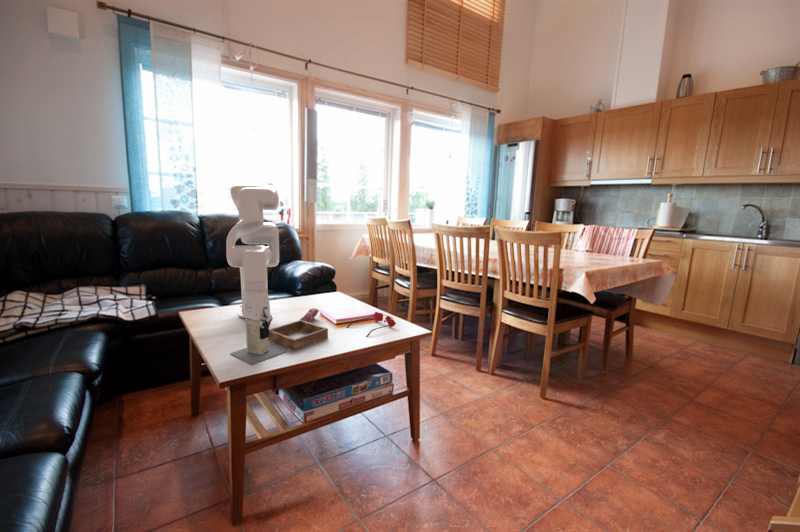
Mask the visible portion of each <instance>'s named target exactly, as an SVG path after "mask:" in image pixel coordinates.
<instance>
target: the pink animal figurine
mask: <svg viewBox="0 0 800 532" xmlns="http://www.w3.org/2000/svg"><path fill="white" fill-rule="evenodd" d="M318 313H319V309H318V308H315V307H313V308H310V309H309V310H308V311H307V312H306V313H305V314H304V316H302V317H300V318H299V320H303V321H306V322H309V323H311V321H313V320H315V318H316V316H317V315H318Z"/></svg>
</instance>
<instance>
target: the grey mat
mask: <svg viewBox="0 0 800 532" xmlns="http://www.w3.org/2000/svg"><path fill="white" fill-rule="evenodd" d="M285 353H286V350H284V349H281V348H279V347H276V346H274V345H271V344H270V343H269V351H267V352H265V353H264V354H262V355H259V354H255V353H250V352H247V347H245V348H242V349H238V350H237V351H233V352H230V355H231V356H233V357H235V358H237V359H238V360H239V359H240V360H241V361H244V362H245V363H247V362H248V364H249V363H250V364H249V365H251V364H252V365H251V366H254V365H255V363H256V364H259V363H261V362H264V361H266V360H270V359H272V358H275V357H277V356H279V355H282V354H285ZM274 356H275V357H274ZM258 362H259V363H258Z"/></svg>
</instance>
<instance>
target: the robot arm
mask: <svg viewBox="0 0 800 532" xmlns="http://www.w3.org/2000/svg"><path fill="white" fill-rule="evenodd" d="M230 195H231V199H232V201H233V203H234V206H235V207H236V209H237V212H238V222H237V223H236V224H235V225H233V227H232V228H231V229H230V231H229V232H228V235H227V236H226V240H225V241H226V243H225V245H226V246H225V247H226V249H225V250H226V254H225V255H226V260H227V263H228V265H229V266H230V267H232V268H239V273H240V289H241V290H240V291H241V304H240V305H239V308H241V311H239V313H238V317H239V318H242V319H244V322H245V323H246V319H247V318H249V319H252V320H254V321H259V323H260V326H261V328H260V339H265V338H268V337H269V329H270V326H271V324H272V322H273V320H274V319H273V315H272V314H271V308H270V306H271V305H270V298H269V293H268V268H272V267H273V268H274V267H277V266H278V265H279V263H280V236H279V235H280V234H279V228H278V226H277V224H275V223H274V222H265V220H264V211H265V210H268V211H274V210H275V211H276V210H277V209H278V207H279V202H280V201H279V200H280V199H279V194H278V190H277V189H276V188H275V186H273V185H268V184H252V183H251V184H249V183H238V184H234V185H232V186H231V187H230ZM239 239H240V240H241V242H242V243H243V244H245V245H236V242H238V240H239ZM266 245H267V246H266ZM262 317H264V318H262ZM263 320H265V322H264V323H263V322H262V321H263Z"/></svg>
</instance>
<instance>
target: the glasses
mask: <svg viewBox="0 0 800 532" xmlns="http://www.w3.org/2000/svg"><path fill="white" fill-rule="evenodd" d="M384 316H385V317H384ZM371 318H374V320H375V322H380V321H381V322H382V321H383V322H384V324H386V325H383V326H380V327H376V328H373V329H371V330H370V331H369V332H368V333H367V335H366V336H365V337H366V338H368V337H369V335H371V333H372V332H373V331H376V330H378V329H383V328H386V327H390V328H393V327H395V326H396V325H397V322H396V321H395V320H394V318H393V317H391V316H390V315H386V314H383V313H380V312H378V311H375V312H374V314H373V315H371V316H369V317H364V318H360V319H357V320H353V321H352V322H351V323H349V324H348V325H347V326H346V329H348V328H349V327H350V326H351V325H352V324H353V323H356V322H358V321H363V320H366V319H367V320H368V319H371ZM384 319H385V320H384Z"/></svg>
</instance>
